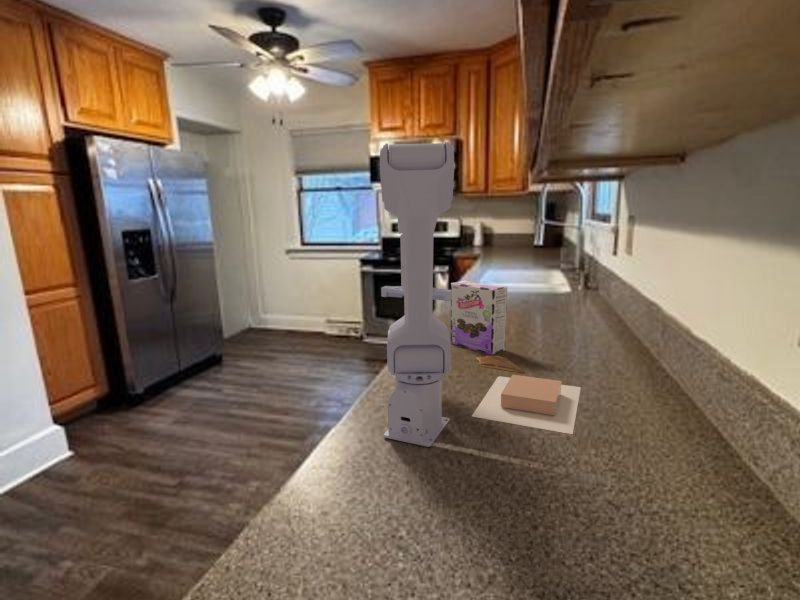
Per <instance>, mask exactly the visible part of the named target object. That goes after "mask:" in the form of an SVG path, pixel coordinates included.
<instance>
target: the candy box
mask: <svg viewBox="0 0 800 600" xmlns="http://www.w3.org/2000/svg"><path fill="white" fill-rule="evenodd" d="M450 290H452V300H451V301H450V345H455V346H458V347H463V348H465V349H470V350H473V351H477V352H480V353H485V354H487V355H490V356H494V355H495V354H498V353H501V352H504V351H506V332H507V331H506V329H507V327H506V326H507V308H508V307H507V305H508V304H507V301H508V286H505V285H500V284H499V285H498V284H490V283H484V282H483V283H482V282H476V281H475V282H474V281H469V280H466V279H465V280H460V281H456V282H451V283H450Z"/></svg>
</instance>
